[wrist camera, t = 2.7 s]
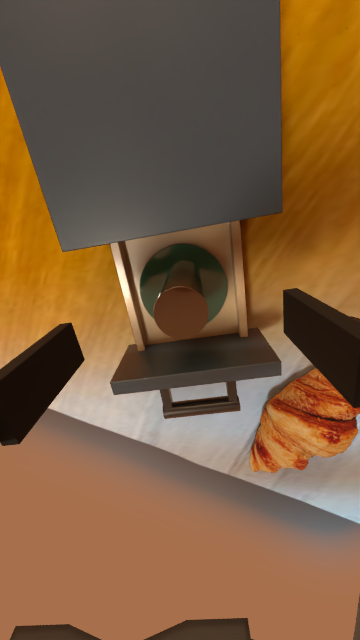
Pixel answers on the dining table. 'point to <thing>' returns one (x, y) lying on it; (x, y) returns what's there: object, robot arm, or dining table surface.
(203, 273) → the lid
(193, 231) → the drawer
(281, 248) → the dining table surface
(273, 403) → the croissant
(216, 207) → the cabinet
